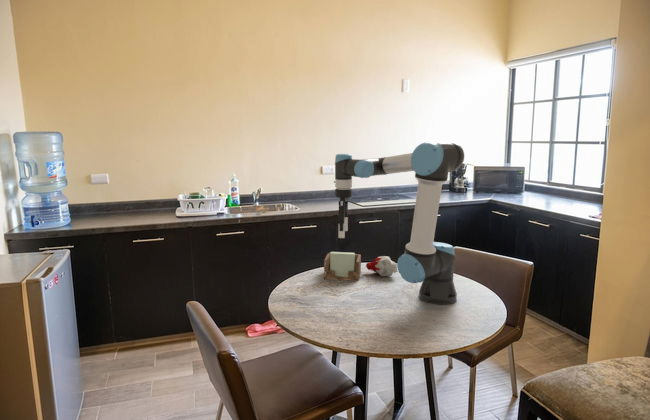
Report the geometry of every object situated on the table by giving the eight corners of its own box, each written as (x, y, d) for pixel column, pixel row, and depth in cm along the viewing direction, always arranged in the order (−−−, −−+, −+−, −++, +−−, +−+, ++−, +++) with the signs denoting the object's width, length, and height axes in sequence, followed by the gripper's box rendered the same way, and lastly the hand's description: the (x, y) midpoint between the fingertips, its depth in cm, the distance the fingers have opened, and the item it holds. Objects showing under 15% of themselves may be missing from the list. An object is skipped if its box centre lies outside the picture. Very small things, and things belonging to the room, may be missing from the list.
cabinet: (360, 272, 216) (360, 254, 214) (358, 281, 203) (358, 262, 202) (328, 270, 218) (328, 252, 217) (323, 279, 206) (323, 261, 204)
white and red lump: (397, 277, 207) (365, 279, 209) (398, 270, 218) (367, 271, 220) (396, 259, 205) (363, 261, 208) (396, 252, 216) (365, 254, 219)
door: (330, 276, 208) (330, 253, 206) (331, 274, 210) (331, 251, 208) (353, 277, 206) (354, 254, 204) (354, 275, 209) (354, 252, 206)
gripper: (338, 184, 213) (338, 227, 217) (331, 192, 189) (331, 240, 193) (354, 184, 212) (353, 228, 216) (349, 192, 188) (348, 241, 192)
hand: (343, 234), depth 205 cm, fingers open, 13 cm apart
